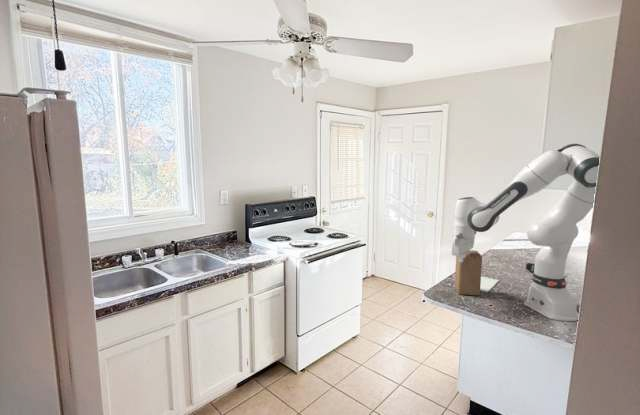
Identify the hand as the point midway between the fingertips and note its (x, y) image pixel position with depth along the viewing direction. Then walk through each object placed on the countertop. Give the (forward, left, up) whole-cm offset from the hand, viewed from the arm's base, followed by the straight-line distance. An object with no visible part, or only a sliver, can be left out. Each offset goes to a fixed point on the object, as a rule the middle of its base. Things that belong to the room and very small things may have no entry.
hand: (461, 261), depth 156 cm
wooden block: (+8, -7, -18) cm, 21 cm away
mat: (+21, -18, -18) cm, 33 cm away
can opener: (+38, -63, -19) cm, 76 cm away
